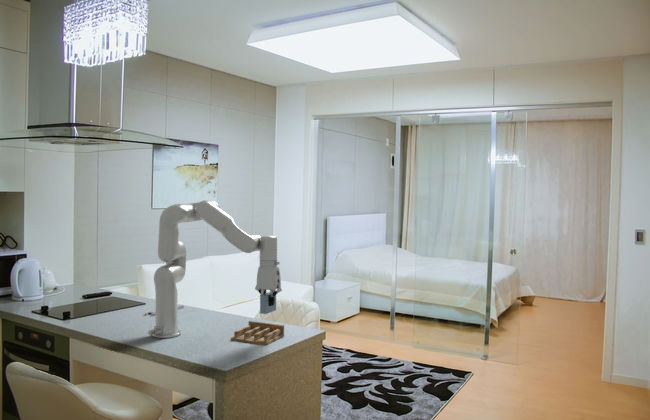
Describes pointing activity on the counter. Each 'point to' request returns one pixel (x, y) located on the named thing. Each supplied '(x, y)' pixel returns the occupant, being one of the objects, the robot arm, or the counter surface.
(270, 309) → the block
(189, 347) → the counter surface
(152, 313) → the adjustable wrench
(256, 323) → the rack
